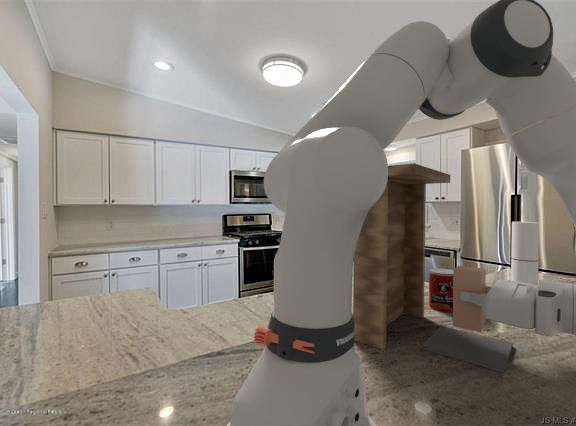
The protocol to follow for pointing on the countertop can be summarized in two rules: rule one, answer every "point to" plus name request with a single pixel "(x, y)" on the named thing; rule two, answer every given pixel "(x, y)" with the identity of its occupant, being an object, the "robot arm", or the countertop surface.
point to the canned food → (441, 289)
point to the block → (465, 311)
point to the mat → (470, 348)
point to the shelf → (392, 254)
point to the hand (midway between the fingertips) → (464, 291)
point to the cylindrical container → (525, 252)
